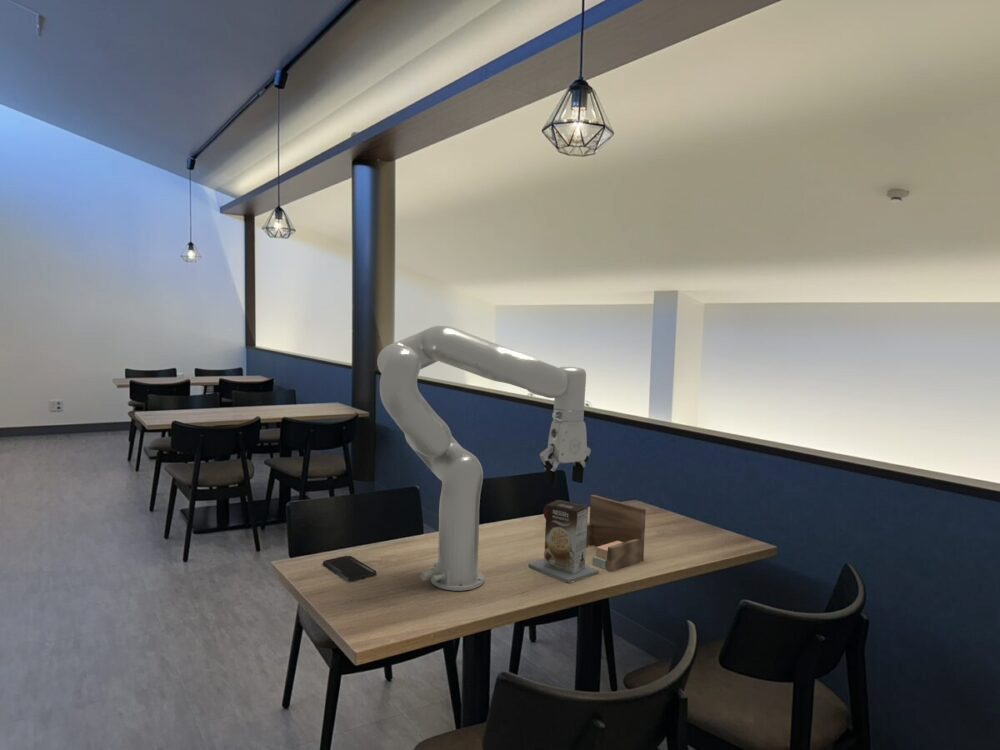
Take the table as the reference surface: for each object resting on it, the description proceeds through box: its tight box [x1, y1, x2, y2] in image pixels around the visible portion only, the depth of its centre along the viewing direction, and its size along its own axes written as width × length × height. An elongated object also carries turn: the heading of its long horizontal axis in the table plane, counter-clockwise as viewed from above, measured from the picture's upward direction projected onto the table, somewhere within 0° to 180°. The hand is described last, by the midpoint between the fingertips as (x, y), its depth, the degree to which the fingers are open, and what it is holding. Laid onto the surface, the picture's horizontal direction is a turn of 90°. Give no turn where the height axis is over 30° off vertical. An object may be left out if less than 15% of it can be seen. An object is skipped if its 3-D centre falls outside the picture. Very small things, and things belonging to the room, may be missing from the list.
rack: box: [586, 494, 647, 572], centre depth 178 cm, size 14×18×14 cm
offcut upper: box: [595, 541, 623, 560], centre depth 173 cm, size 9×4×2 cm, turn 132°
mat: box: [528, 558, 600, 584], centre depth 167 cm, size 11×14×1 cm
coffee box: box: [543, 499, 589, 574], centre depth 167 cm, size 9×6×16 cm
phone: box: [322, 555, 377, 583], centre depth 163 cm, size 8×1×15 cm
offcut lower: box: [592, 555, 607, 570], centre depth 174 cm, size 10×4×2 cm, turn 135°
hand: (564, 484), depth 166 cm, fingers open, 9 cm apart
